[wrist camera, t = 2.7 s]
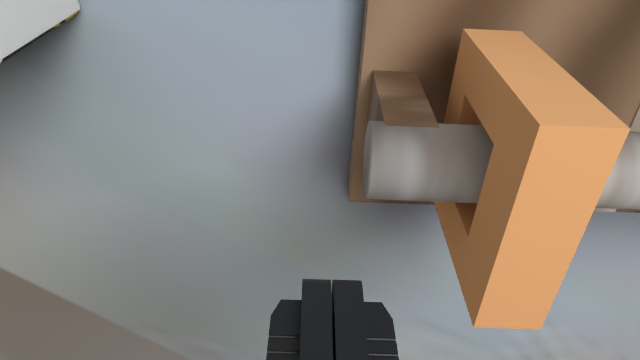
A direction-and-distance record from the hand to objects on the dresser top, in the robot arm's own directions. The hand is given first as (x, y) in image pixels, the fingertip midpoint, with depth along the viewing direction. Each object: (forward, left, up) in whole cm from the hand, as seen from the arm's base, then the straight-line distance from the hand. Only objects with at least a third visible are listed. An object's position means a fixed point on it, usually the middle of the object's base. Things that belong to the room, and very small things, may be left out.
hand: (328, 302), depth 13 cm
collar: (-7, 0, -11) cm, 13 cm away
